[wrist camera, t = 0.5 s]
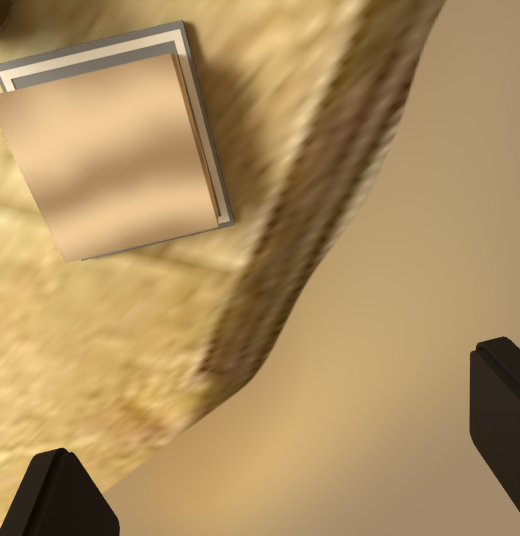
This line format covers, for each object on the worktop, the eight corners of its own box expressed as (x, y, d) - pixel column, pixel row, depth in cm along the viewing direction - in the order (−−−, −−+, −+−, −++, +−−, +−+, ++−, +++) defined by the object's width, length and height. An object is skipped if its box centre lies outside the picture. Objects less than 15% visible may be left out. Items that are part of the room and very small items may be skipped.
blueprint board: (-2, 65, 30) (-10, 65, 29) (182, 21, 30) (181, 20, 29) (84, 256, 38) (81, 261, 37) (233, 221, 38) (234, 225, 37)
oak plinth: (18, 91, 30) (-15, 97, 26) (176, 54, 30) (170, 53, 26) (83, 238, 36) (65, 263, 32) (217, 206, 36) (218, 227, 31)
